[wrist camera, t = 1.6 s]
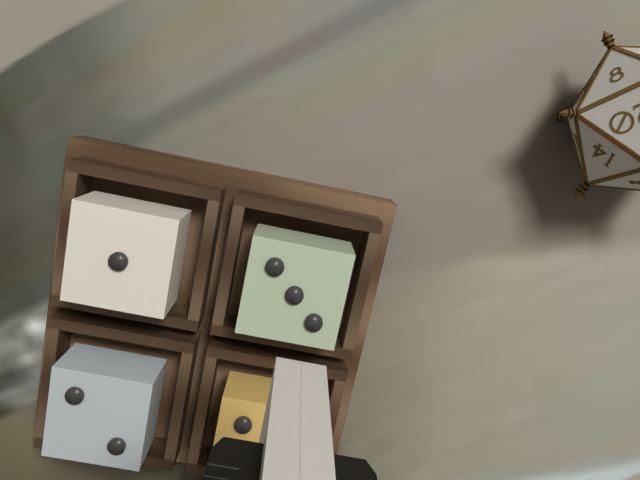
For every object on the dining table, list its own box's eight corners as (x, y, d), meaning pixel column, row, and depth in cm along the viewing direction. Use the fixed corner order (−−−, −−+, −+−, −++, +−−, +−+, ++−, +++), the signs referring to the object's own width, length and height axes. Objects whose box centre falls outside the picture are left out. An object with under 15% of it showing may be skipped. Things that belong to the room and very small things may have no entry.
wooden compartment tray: (327, 467, 37) (330, 509, 33) (47, 420, 36) (16, 457, 32) (391, 199, 33) (403, 211, 29) (82, 135, 32) (51, 138, 28)
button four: (300, 464, 33) (299, 500, 30) (214, 449, 32) (205, 485, 29) (317, 386, 32) (319, 415, 29) (229, 370, 31) (221, 398, 28)
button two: (154, 439, 32) (137, 474, 29) (65, 424, 32) (39, 457, 29) (167, 359, 31) (152, 386, 28) (75, 342, 31) (50, 368, 28)
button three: (330, 328, 31) (333, 352, 28) (241, 311, 31) (233, 334, 28) (350, 241, 30) (356, 256, 27) (257, 223, 30) (252, 236, 27)
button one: (176, 299, 30) (162, 321, 27) (83, 282, 30) (57, 301, 27) (191, 210, 29) (178, 221, 26) (95, 190, 29) (70, 199, 26)
